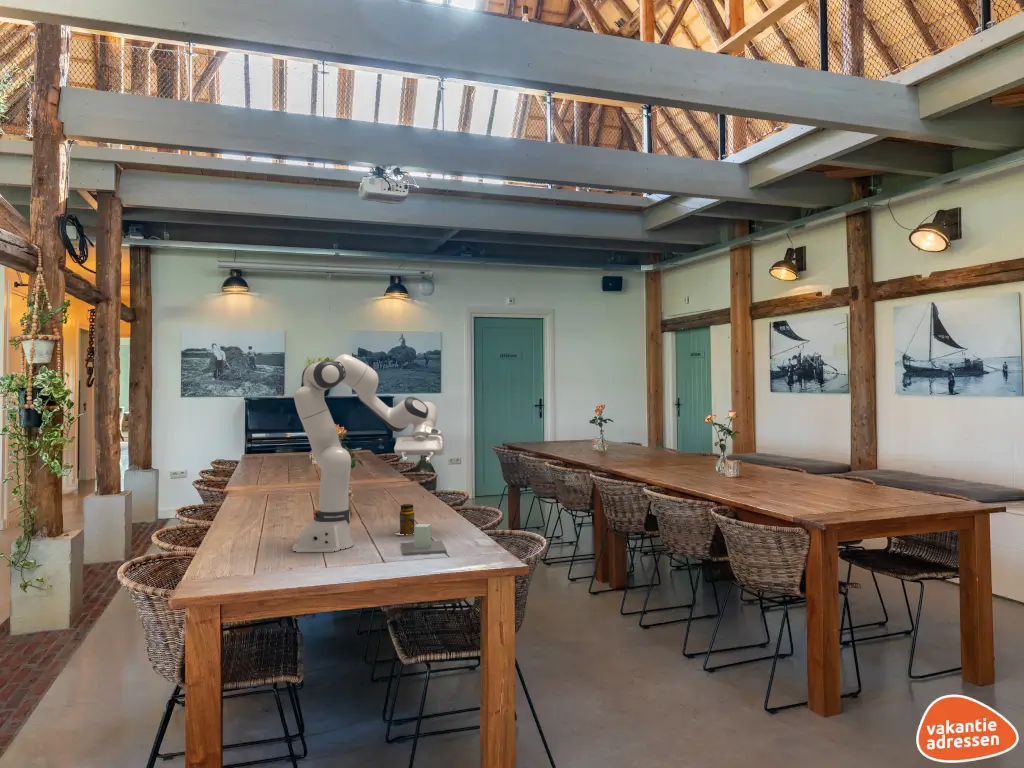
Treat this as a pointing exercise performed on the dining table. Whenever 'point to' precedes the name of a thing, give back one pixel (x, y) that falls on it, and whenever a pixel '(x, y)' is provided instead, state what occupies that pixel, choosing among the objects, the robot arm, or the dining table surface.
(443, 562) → the dining table surface
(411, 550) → the board
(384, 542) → the dining table surface
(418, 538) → the block
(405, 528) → the condiment
